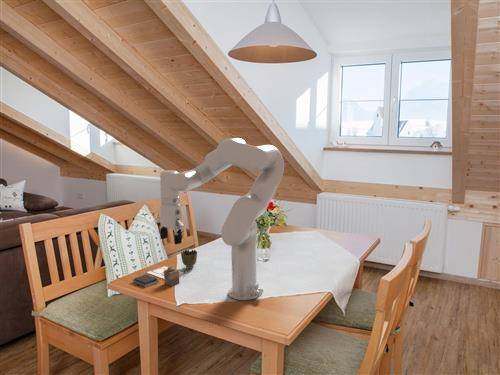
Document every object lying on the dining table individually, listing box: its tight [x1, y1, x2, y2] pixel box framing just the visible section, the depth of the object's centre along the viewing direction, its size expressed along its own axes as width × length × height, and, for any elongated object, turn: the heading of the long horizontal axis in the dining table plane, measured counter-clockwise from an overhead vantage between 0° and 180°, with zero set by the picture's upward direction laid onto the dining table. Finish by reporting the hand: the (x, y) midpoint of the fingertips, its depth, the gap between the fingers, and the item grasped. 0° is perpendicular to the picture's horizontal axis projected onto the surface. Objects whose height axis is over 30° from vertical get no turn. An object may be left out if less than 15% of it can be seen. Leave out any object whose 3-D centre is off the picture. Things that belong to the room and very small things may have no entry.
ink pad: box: [132, 273, 160, 288], centre depth 179 cm, size 9×7×2 cm
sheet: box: [146, 266, 185, 280], centre depth 190 cm, size 14×10×1 cm
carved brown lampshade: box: [180, 249, 198, 270], centre depth 195 cm, size 8×7×8 cm
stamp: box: [163, 266, 180, 287], centre depth 177 cm, size 4×4×7 cm
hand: (170, 241), depth 175 cm, fingers open, 9 cm apart
